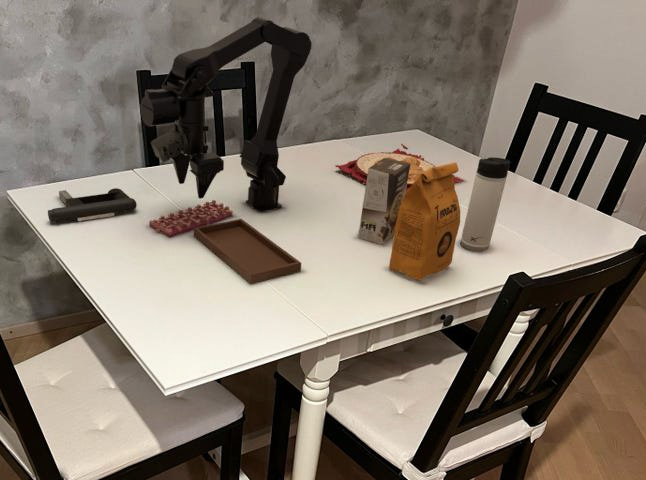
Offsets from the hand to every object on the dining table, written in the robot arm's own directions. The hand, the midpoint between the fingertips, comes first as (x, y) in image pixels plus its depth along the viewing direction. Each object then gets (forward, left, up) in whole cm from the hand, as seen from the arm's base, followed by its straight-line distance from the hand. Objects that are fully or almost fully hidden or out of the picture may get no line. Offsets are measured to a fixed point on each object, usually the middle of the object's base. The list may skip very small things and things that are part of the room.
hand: (191, 190), depth 164 cm
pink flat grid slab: (0, 0, -8) cm, 8 cm away
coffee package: (-32, +41, -8) cm, 53 cm away
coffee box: (-35, +24, -8) cm, 43 cm away
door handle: (+18, -17, -8) cm, 26 cm away
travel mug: (-51, +38, -8) cm, 64 cm away
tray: (-3, +19, -7) cm, 21 cm away
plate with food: (-64, -3, -8) cm, 64 cm away
